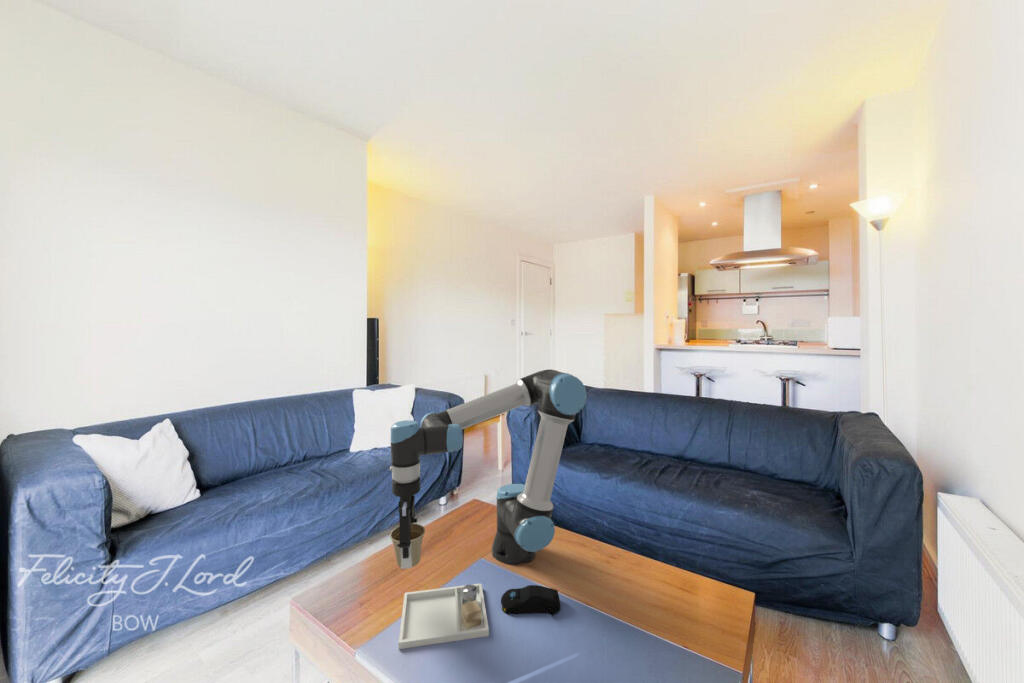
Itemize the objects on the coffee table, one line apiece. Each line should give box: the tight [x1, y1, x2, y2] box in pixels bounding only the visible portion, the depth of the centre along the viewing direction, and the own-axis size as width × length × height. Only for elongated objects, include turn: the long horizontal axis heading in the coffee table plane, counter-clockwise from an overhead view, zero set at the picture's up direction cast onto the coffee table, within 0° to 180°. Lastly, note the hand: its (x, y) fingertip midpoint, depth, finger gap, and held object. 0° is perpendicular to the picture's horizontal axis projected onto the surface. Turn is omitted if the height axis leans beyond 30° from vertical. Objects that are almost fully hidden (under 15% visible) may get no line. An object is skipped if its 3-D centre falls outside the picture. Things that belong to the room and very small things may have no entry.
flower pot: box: [389, 523, 426, 568], centre depth 112 cm, size 9×9×9 cm
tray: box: [397, 582, 490, 650], centre depth 108 cm, size 22×18×2 cm
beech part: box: [461, 600, 481, 630], centre depth 106 cm, size 4×4×4 cm
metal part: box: [462, 584, 477, 604], centre depth 113 cm, size 4×4×4 cm
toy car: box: [500, 584, 561, 616], centre depth 112 cm, size 8×17×5 cm, turn 91°
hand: (408, 556), depth 112 cm, fingers closed on flower pot, 9 cm apart
